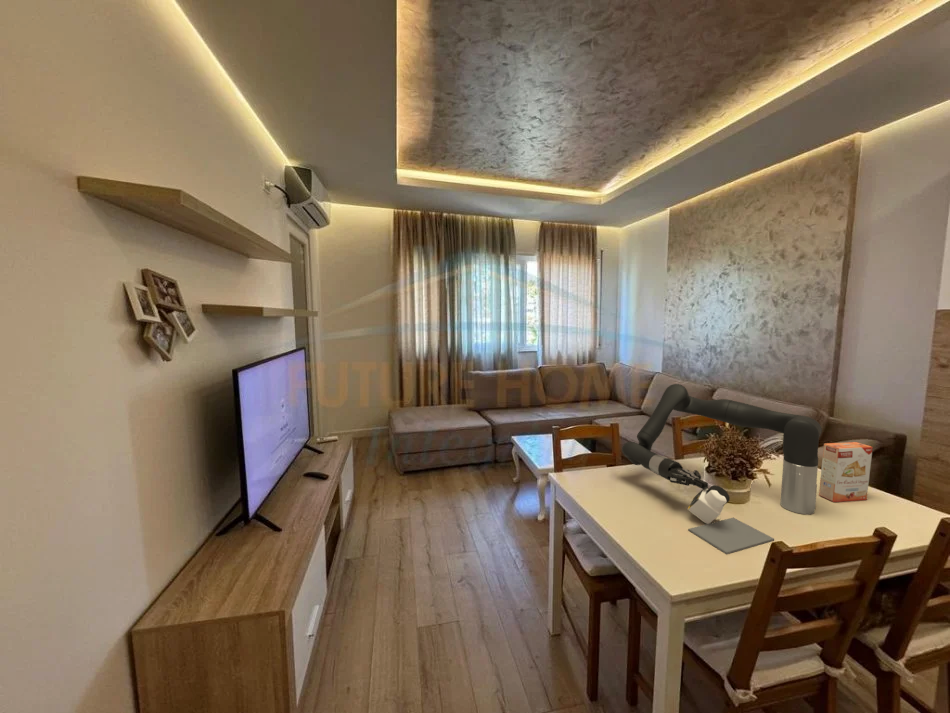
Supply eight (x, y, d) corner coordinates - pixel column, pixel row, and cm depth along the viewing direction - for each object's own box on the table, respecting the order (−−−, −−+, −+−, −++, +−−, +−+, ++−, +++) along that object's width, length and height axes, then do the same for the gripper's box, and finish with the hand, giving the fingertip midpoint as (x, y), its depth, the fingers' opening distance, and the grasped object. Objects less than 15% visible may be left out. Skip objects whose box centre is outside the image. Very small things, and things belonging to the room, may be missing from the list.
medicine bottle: (693, 497, 131) (713, 478, 123) (713, 512, 127) (735, 494, 120) (687, 509, 126) (707, 490, 119) (707, 525, 123) (729, 507, 116)
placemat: (733, 519, 126) (733, 517, 126) (774, 540, 114) (774, 538, 114) (688, 530, 120) (688, 528, 120) (726, 554, 108) (726, 552, 108)
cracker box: (834, 503, 135) (839, 448, 133) (818, 495, 141) (822, 442, 139) (868, 500, 137) (873, 446, 135) (850, 493, 143) (855, 440, 141)
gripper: (651, 460, 138) (691, 478, 122) (678, 455, 142) (721, 472, 126) (651, 479, 139) (691, 500, 123) (678, 474, 143) (720, 493, 127)
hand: (706, 486), depth 124 cm, fingers closed
